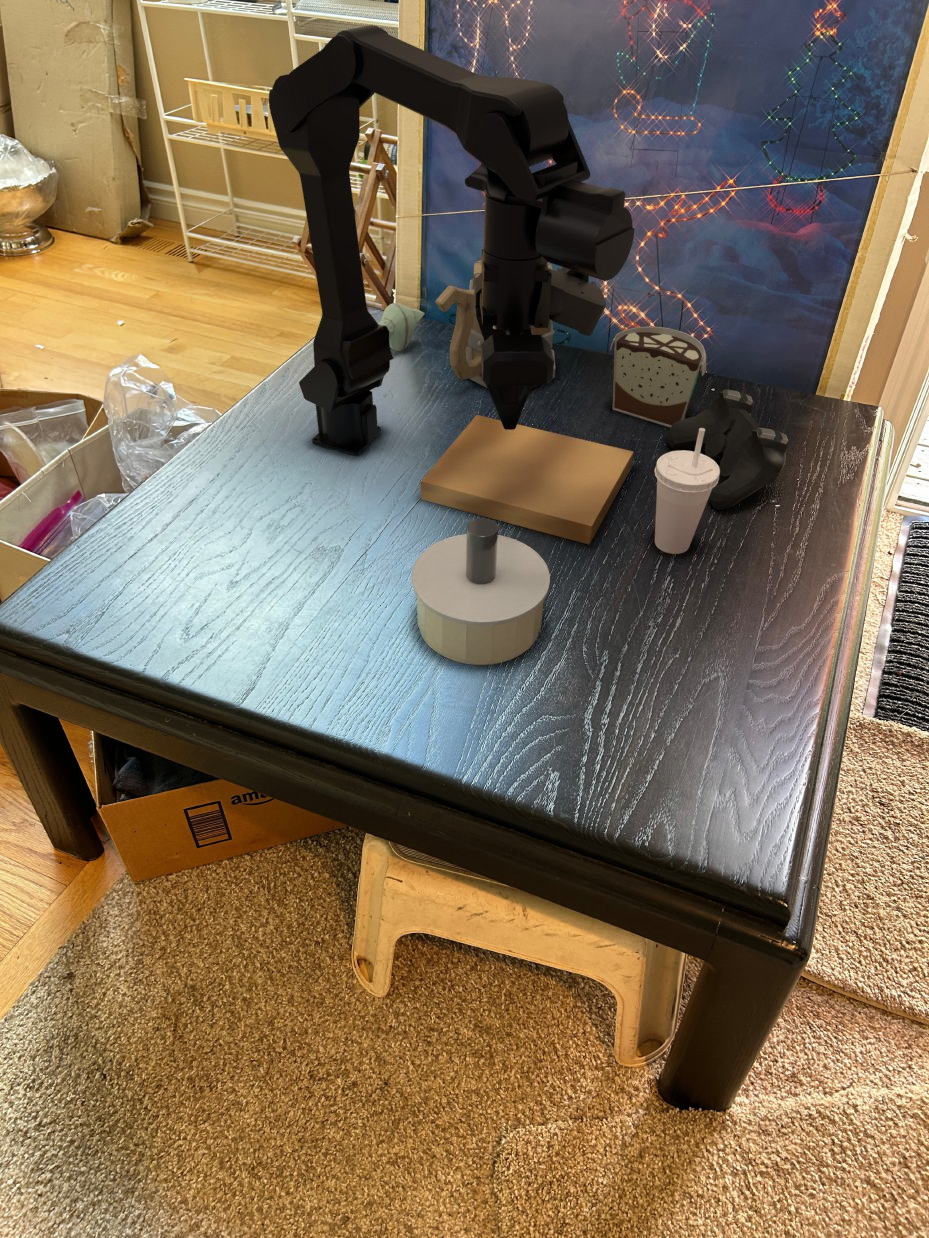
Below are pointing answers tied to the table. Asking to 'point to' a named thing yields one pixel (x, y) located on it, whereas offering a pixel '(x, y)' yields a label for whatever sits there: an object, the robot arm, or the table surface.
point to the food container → (655, 373)
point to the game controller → (733, 446)
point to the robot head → (400, 324)
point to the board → (529, 478)
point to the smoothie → (682, 495)
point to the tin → (478, 637)
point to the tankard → (473, 331)
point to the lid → (480, 577)
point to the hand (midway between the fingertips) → (506, 404)
